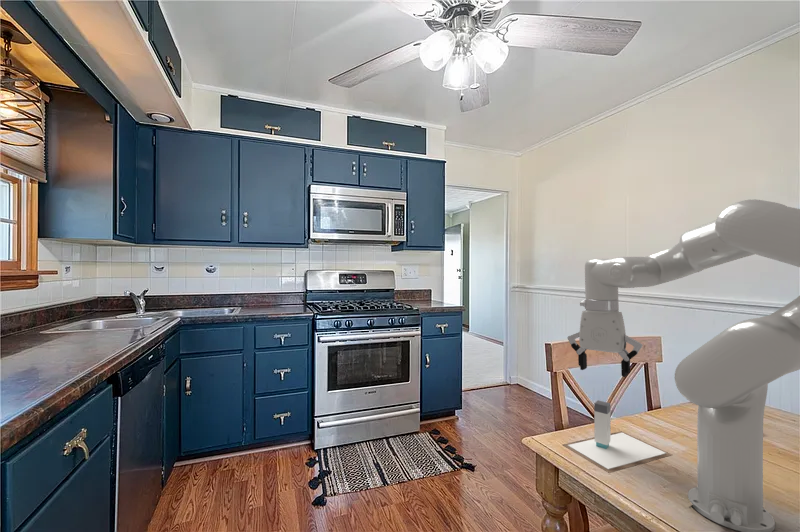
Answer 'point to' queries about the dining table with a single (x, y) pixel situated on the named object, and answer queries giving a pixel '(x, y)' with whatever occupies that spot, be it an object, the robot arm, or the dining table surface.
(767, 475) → the dining table surface
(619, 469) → the board
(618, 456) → the paper
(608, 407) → the grey square bar
